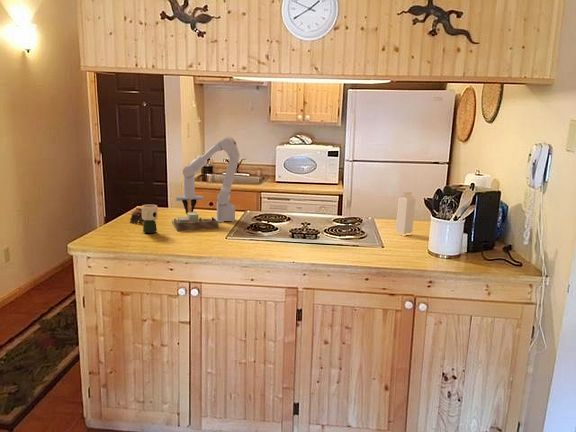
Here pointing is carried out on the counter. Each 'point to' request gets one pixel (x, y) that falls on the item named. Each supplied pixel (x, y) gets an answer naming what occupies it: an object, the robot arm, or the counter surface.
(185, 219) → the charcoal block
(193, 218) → the rod with orange block
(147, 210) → the character mug
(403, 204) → the milk
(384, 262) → the counter surface
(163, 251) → the counter surface
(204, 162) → the robot arm
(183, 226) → the lane shelf
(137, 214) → the dark brown lumpy figurine
